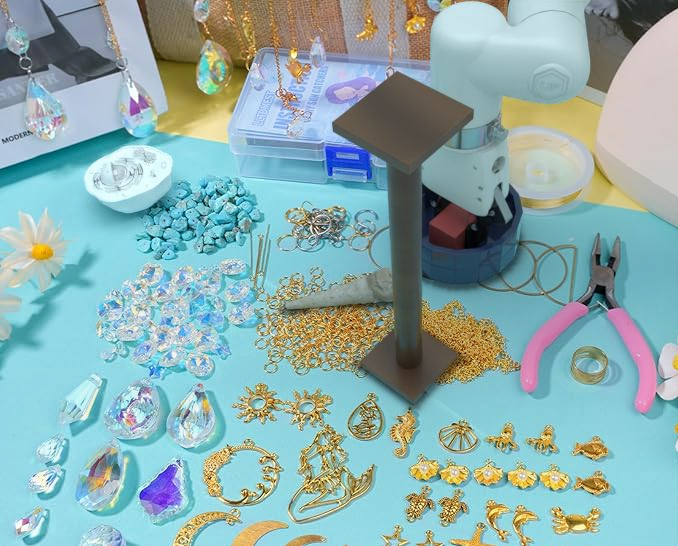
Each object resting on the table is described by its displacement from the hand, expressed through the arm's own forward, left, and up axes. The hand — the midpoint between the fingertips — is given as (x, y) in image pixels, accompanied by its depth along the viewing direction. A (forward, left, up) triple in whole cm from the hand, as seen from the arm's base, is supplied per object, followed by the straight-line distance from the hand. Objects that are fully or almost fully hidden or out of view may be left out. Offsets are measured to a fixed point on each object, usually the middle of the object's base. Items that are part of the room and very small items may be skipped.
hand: (459, 232), depth 103 cm
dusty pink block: (0, 0, -1) cm, 1 cm away
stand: (+18, +7, -2) cm, 19 cm away
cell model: (+21, -39, -2) cm, 44 cm away
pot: (0, 0, -2) cm, 2 cm away
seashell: (+16, -4, -2) cm, 17 cm away
